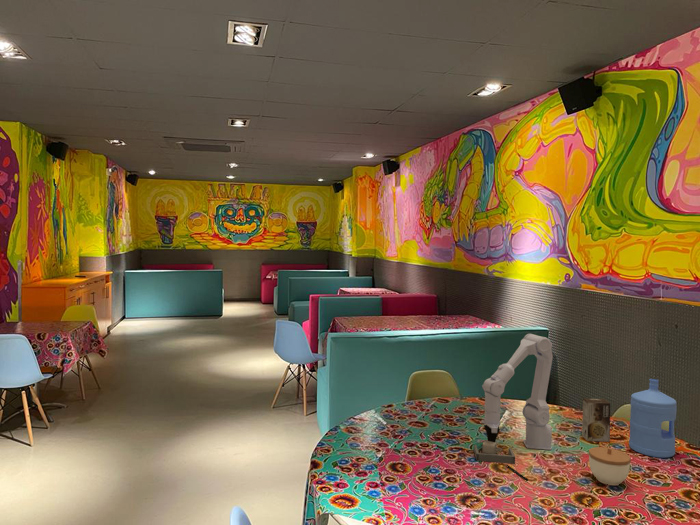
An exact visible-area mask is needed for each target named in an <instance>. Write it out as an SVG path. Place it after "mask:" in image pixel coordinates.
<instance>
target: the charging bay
mask: <svg viewBox="0 0 700 525" xmlns="http://www.w3.org/2000/svg"><path fill="white" fill-rule="evenodd" d="M473 452H474V455H475V456H474V457H475V459H476V460H475V461H476V462H487V463H488V462H490V463H502V464H512V465H513V464H516V456H515V454H514V451H513V449H512V447H508V454H507V455H505V454H497V453H496V454H485V453H483V452H481V453H480V452H479V449H478V445H477V444H474V446H473Z"/></svg>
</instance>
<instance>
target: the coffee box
mask: <svg viewBox="0 0 700 525" xmlns="http://www.w3.org/2000/svg"><path fill="white" fill-rule="evenodd" d="M581 426H582V427H581V436H582V437H583V438H584V439H585V441H587V442H603V443H604V442H605V443H606V442H608V443H609V442H610V440H611V402H609V401H608V400H607V399H605V398H587V397H586V398H585V397H584V398H582V425H581Z"/></svg>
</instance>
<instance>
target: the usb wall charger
mask: <svg viewBox="0 0 700 525" xmlns="http://www.w3.org/2000/svg"><path fill="white" fill-rule="evenodd" d="M497 444H498V442H496V441H495V442H491V441H488V440H484V441H483V443H482V452H481V453H483V454H496V455H497V453H503V450H504V449H503V448H502V447H498V446H497Z"/></svg>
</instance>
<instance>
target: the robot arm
mask: <svg viewBox="0 0 700 525" xmlns="http://www.w3.org/2000/svg"><path fill="white" fill-rule="evenodd" d="M552 349H553V343H552V341H551V340H550V339H549V338H548V337H545V336H540V335H537V334H533V333H527V334H526V335H524V337H523V338H522V339H521V340H520V345H519V346H518V348H517V349H516V350H515V352H514V353H513V354H512V356H511V357H510V359H509V360H508V361H507V362H506V363H502V364H500V365H499V366H497V370H496V371H495V372H494V373H493V374H492V375H491V376H490V377H489V378H486V379H485V380H484V382H483V384H482V385H481V387H482V390H483V391H484V419H481V424H484V425H483V427H484V430H485V432H486V438H487V441H491V442H496V440H497V437H498V435H499V433H500V431H501V429H500V426H501V399H502V398H501V395H502V394H503V393H504V392H505V387H506V385H507V384H508V382H509V381H510V380H511V378H512V377H513V376H514V375H515V370H516V368H517V367H518V366H519V365H520V364H521V363H522V362H523V361H524V360H525V359H526V358H527V357H528V356H532V355H534V357H535V358H536V366H535V371H534V376H533V383H532V387H531V388H532V389H531V395H530V397H529V398H527V399H526V400H525V403H524V404H525V405H524V406H523V408H522V415H523V417H524V419H525V420H524V421H525V439H522V443H523V444H524V445H525V448H527V449H532V450H533V449H536V450H549V451H551V450H552V436H553V435H552V434H553V433H552V426H551V423H550V424H549V421H550V419H551V418H550V407H549V405H548V403H547V401H546V400H547V394H548V389H549V388H548V386H549V382H550V376H551V370H552V365H553V359H554V355H553V351H552Z"/></svg>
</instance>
